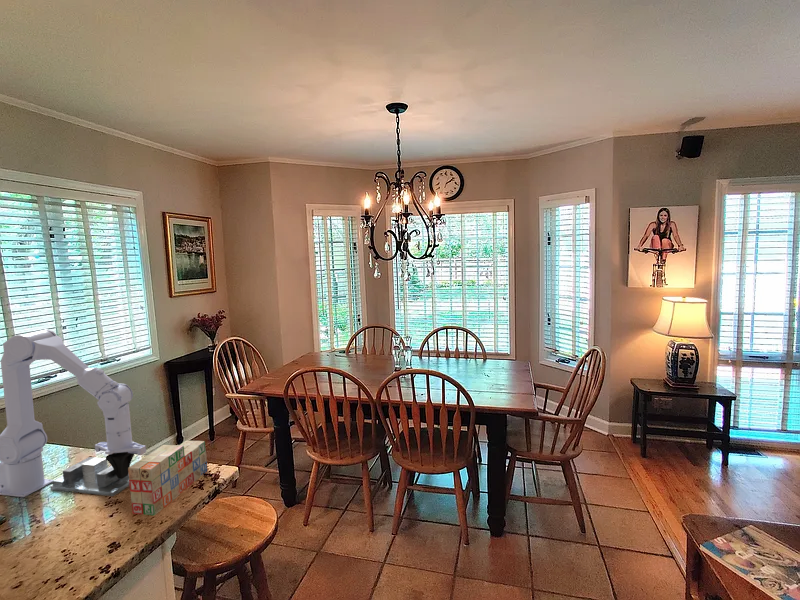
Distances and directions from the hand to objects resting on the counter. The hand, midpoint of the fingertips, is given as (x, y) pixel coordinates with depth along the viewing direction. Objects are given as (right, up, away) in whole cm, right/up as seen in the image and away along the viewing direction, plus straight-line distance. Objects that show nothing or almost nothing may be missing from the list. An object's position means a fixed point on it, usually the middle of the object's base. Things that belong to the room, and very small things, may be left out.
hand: (123, 476), depth 114 cm
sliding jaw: (-3, -1, +1) cm, 3 cm away
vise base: (-8, -2, +2) cm, 8 cm away
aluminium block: (-9, -1, +2) cm, 9 cm away
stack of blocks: (+16, -3, -3) cm, 16 cm away
